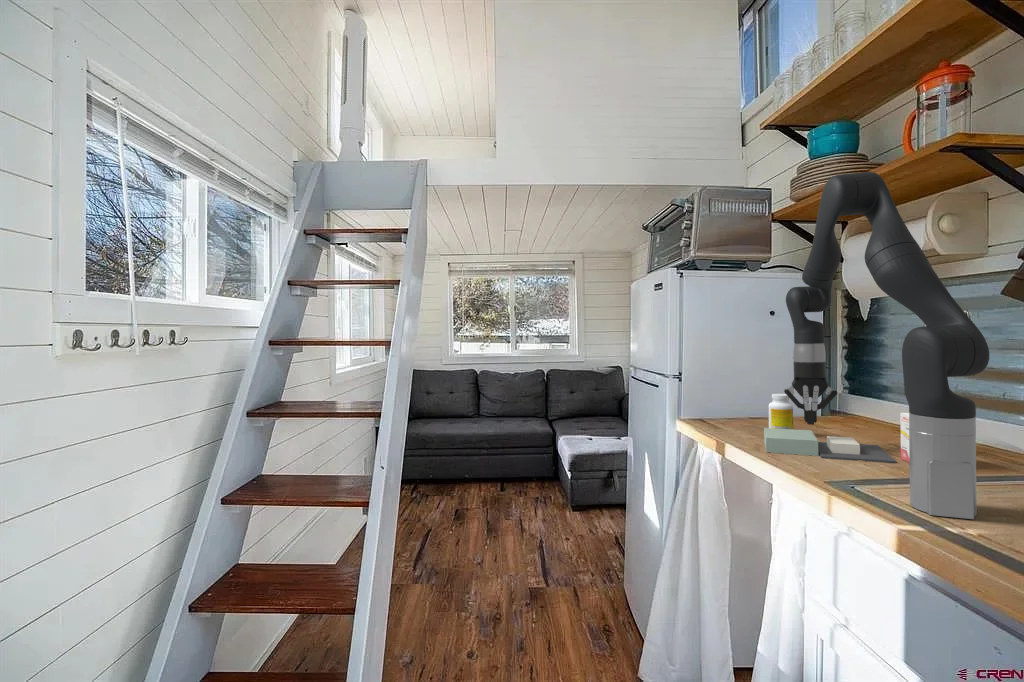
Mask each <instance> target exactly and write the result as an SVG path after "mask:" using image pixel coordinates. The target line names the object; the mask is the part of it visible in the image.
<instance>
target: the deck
mask: <svg viewBox="0 0 1024 682" xmlns="http://www.w3.org/2000/svg"><path fill="white" fill-rule="evenodd" d="M763 442H764V447H765V452H772V453H771V454H779V453H784V454H783V455H794V454H798V455H797V456H809V455H812V456H813V457H819V453H818V442H819V440H818V438H817V437H816V435H815V434H814V432H813V431H812V430H811V429H794V428H793V429H773V428H769V427H767V428H766V427H763Z"/></svg>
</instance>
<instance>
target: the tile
mask: <svg viewBox="0 0 1024 682" xmlns="http://www.w3.org/2000/svg"><path fill="white" fill-rule="evenodd" d="M826 442H827V446H828V447H829V449H830V450H831V452H832V453H843V454H859V455H860V444H861V443H859V442H857V440H856V439H854V438H853V437H848V436H847V437H846V436H826Z"/></svg>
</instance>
